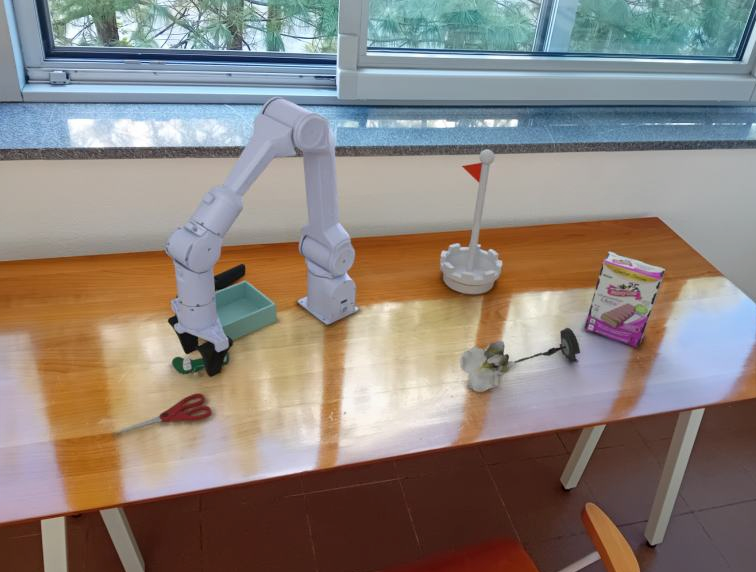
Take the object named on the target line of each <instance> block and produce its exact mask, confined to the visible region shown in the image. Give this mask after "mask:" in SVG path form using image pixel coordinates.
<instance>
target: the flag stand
mask: <svg viewBox="0 0 756 572" xmlns="http://www.w3.org/2000/svg"><path fill="white" fill-rule="evenodd" d="M479 161H480V162H478V163H477V162H476V163H472V164H466V165H461V167H462V169H464V170H465V171H466V172H467V174H469V175H470V176H471V177H472V178H473V179H475V181H476V182H478V189H477V195H476V201H475V208H474V215H473V221H472V229H471V230H472V231H471V237H470V242H468V243H469V244H468V246H461V244H460V243H459V242H457V243H453V244H450V245H448V250H444V249H443V250H442V251H441V252H440V260H439V268H440V271H441V272H442V275H443V276H442V280H443V282H444V283H445V285H446V286H447V287H448V288H450V289H452V290H453V291H456V292H458V293H461V294H466V295H480V294H484V293H487V292H489V291H490V290H492V288H493V287H494V285H495V281H497V280H498V279H499V277H500V276H501V273H502V268H503V260H499V253H498V252H497V251H496V250H494V249H492V248H490V249H488V250H487V251H486V250H484V249H482V244H480V243H479V237H480V230H481V224H482V217H483V211H484V206H485V205H484V204H485V197H486V191H487V185H488V179H489V173H490V165H491V164H492V163H493V162H494V161H495V153H494V152H493V151H492V150H491V149H487V148H486V149H484V150H482V151H481V152H480V154H479Z"/></svg>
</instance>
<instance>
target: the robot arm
mask: <svg viewBox="0 0 756 572" xmlns="http://www.w3.org/2000/svg"><path fill="white" fill-rule="evenodd" d="M259 111H260V112H258V114H257V115H256V116H255V117H254V119H253V133H252V135H251V137H250V138H249V140H248V142H247V144H246V145H245V147H244V149H243V150H242V152H241V154H240V155H239V157H238V159H237V160H236V162H235V163H234V166H233V167H232V168H231V170H230V172H229V174H228V176H227V177H226V179H225V180H224V182H223V184H220V185H216V186H213V187H211V188H210V189H209V190H208V192H206V193H205V194H204V196H203V197H202V200H201V202H200V203H199V204H198V206H197V208H196V209H195V211H193V213H192V214H191V216H190V217H189V219H187V221H186V223H185V224H184V225H182V226H179V227H177V228H175V229H173V231H172V232H171V233H170V234H169V236H168V238H167V243H166V245H164V252H165V253H166V254H167V256H168V257H170V258H171V259H172V261H173V262H172V263H173V267H174V273H175V283H176V284H175V285H176V293H177V295H178V298H176V297H175V298H174V299H171V300H170V307H171V311H172V312H174V313H175V314H174V315H173V316H171V317H169V318H168V319H167V323H168V325H170V326H171V328H172V329H173V331H174V332H175V334H176V336H177V339H178V340H179V343H180V346H181V348H182V351H183V352H184V354H185V355H189V354H192V353H194V352H196V351H197V352H198V353H199V355H200V356H201V358H203V361H204V364H205V373H206V374H207V376H208V377H209V378H213V377H215V376H217V375H219V374H221V373H222V369H223V366H224V365H223V361H224V358H225V356H226V354H227V352H228V353H229V351H230V350H231V348H232V347H233V345H234V340H233V341H232V339H231V338H230V337H229V336H226V335H225V334H224V332H223V329H222V326H221V323H220V321H219V318H218V315H217V313H216V298H215V292H216V291H215V285H214V276H215V274H214V271H215V270H214V266H215V265H216V263H218V261H219V260H220V257H221V253H222V246H223V244H224V238H225V236H226V234H227V233H228V232H229V230H230V228H231V227H232V226H233V224H234V223H235V221H236V220H237V219H238V217H239V216H240V215H241V213H242V211H243V210H244V205H243V204H244V203H243V196H244V195H245V194H246V193H247V192H248V190H249V189H250V188H251V187H252V186H253V185H254V183H255V182H256V180H257V179H258V178H259V177H260V176H261V175H262V174H263V172H264V171H265V170H266V168H267V167H268V166H269V165H270V163H271V162H272V161H273V160H274V159H280V158H289V157H295V156H297V154H298V153H297V152H296V150H295V149H296V148H297V149H298V150H300V151H302V161H303V163H302V164H303V173H304V184H305V193H306V194H305V196H306V197H305V198H306V206H307V219H308V222H307V223H305V224H304V225H303V226H302V227H300V232H301V233H300V235H301V236H300V239H299V242H298V251H299V254H300V255H301V256H302V257H303V258H304V263H305V264H306V266H307V268H306V271H307V273H306V280H307V282H306V296H304V297H302V298H299V299H298V300H297V304H298V305H299V306H301V307H303V308H304V309H305V310H306V311H308V312H309V313H310V314H311V315H313V316H314V317H315V318H316V319H318V320H319V321H321V322H322V323H323V324H324V325H326V326H328V325H332V324H333V323H335V322H337V321H339V320H341V319H343V318H345V317H348V316H351V315H352V314H354V313H356V312H358V311H359V307H358V306H356V300H357V299H356V298H357V285H356V283H355V281H354V280H353V278H351V276H350V275H349V274H348V271H349V270H350V269H351V268H352V267H353V265H354V262H355V259H356V250H355V248H354V246H353V244H352V239H351V235H349V234H348V232H347V230H346V229H345V228H344V227H343V226H342V225H341V223H340V215H339V197H338V180H337V178H338V177H337V166H336V165H337V162H336V161H337V160H336V143H335V135H334V133H333V131H332V129H331V128H330V126H329V123H330V122H329V118H328V117H325V116H324V115H322V114H320V113H317V112H314V111H312V110H311V111H310V110H309V109H306V108H304V107H302V106H301V105H298V104H296V103H295V102H293V101H291V100H289V99H286V98H284V97H281V96H274V97H270V98H269V99H268V100H266V102H265V103H263V105H262V107H261V109H260V110H259ZM199 338H200V339H202V340H204V341H206V342H204V343H201V344H199V340H200V339H199ZM222 365H223V366H222Z"/></svg>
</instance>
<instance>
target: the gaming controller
mask: <svg viewBox="0 0 756 572" xmlns="http://www.w3.org/2000/svg"><path fill="white" fill-rule="evenodd" d="M229 362H230V353H229V351H228V352H227V354H226V356H225V358H224V361H223V365H222V367H223V366H226V365H228V364H229ZM171 364H172V366H173V368H174V370H175V371H176V372H178V373H179V374H182V375H183V376H184V375H188V374H192V376H197V375H200V372H201V371H204V370H205V371H206V369H205V364H204V361H203V358H202V357H200V358H196V359H191V358H190V357H188V356H186V357H181V356H175V357H174V358H173V359H172V361H171Z"/></svg>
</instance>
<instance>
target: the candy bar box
mask: <svg viewBox="0 0 756 572" xmlns="http://www.w3.org/2000/svg"><path fill="white" fill-rule="evenodd" d="M665 273H666V269H665V268H663V267H660V266H657V265H653V264H650V263H647V262H644V261H640V260H637V259H635V258H631V257H628V256H625V255H621V254H619V253H615V252H612V251H608V252H607V254H606V256H605V258H604V260H603V261H602V264H601V268H600V271H599V275H598V279H597V282H596V285H595V290H594V293H593V296H592V300H591V304H590V307H589V310H588V314H587V318H586V321H585V324H584V331H587V332H589V333H593V334H595V335H598V336H600V337H601V336H602V337H604V338H607V339H610V340H613V341H616V342H618V343H621V344H625V345H627V346H630V347H633V348H636V349H639V348H640V345H641V343H642V341H643V339H644V336H645V333H646V330H647V326H648V324H649V320H650V317H651V314H652V311H653V310H654V305H655V302H656V299H657V296H658V293H659V290H660V289H661V288H660V287H661V285H662V282H663V279H664V276H665Z"/></svg>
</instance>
